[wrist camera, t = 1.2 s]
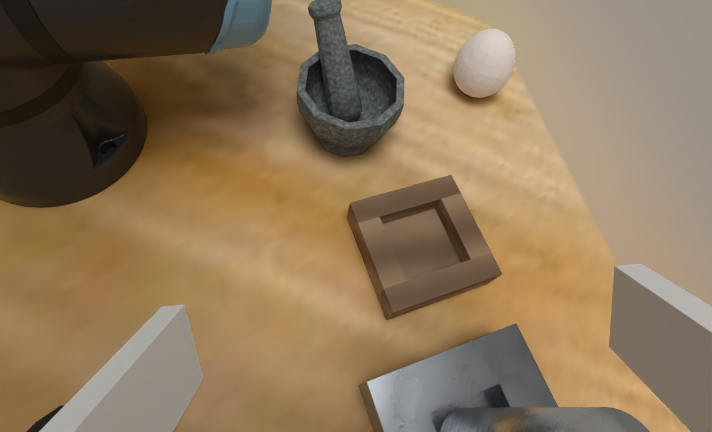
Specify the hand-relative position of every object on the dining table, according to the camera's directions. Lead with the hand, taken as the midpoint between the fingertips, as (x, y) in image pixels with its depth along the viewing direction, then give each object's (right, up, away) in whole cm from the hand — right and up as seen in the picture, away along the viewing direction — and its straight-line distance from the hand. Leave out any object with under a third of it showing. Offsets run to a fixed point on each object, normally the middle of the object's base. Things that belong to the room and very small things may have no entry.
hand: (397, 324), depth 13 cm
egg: (+12, +18, +34) cm, 40 cm away
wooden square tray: (+4, 0, +25) cm, 25 cm away
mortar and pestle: (-3, +13, +30) cm, 33 cm away
